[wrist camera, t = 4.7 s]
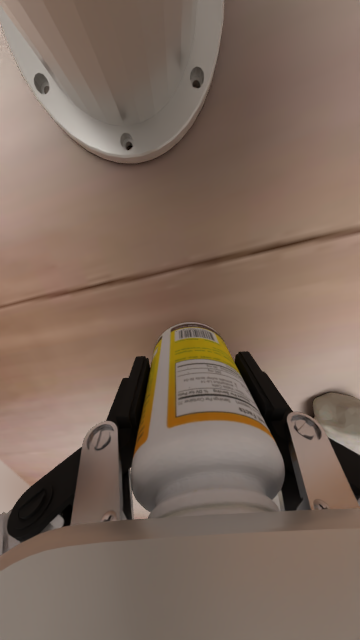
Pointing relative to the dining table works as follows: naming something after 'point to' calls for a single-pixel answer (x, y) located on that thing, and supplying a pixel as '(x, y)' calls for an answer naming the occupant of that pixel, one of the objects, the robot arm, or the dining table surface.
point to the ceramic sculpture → (339, 418)
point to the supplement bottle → (202, 433)
